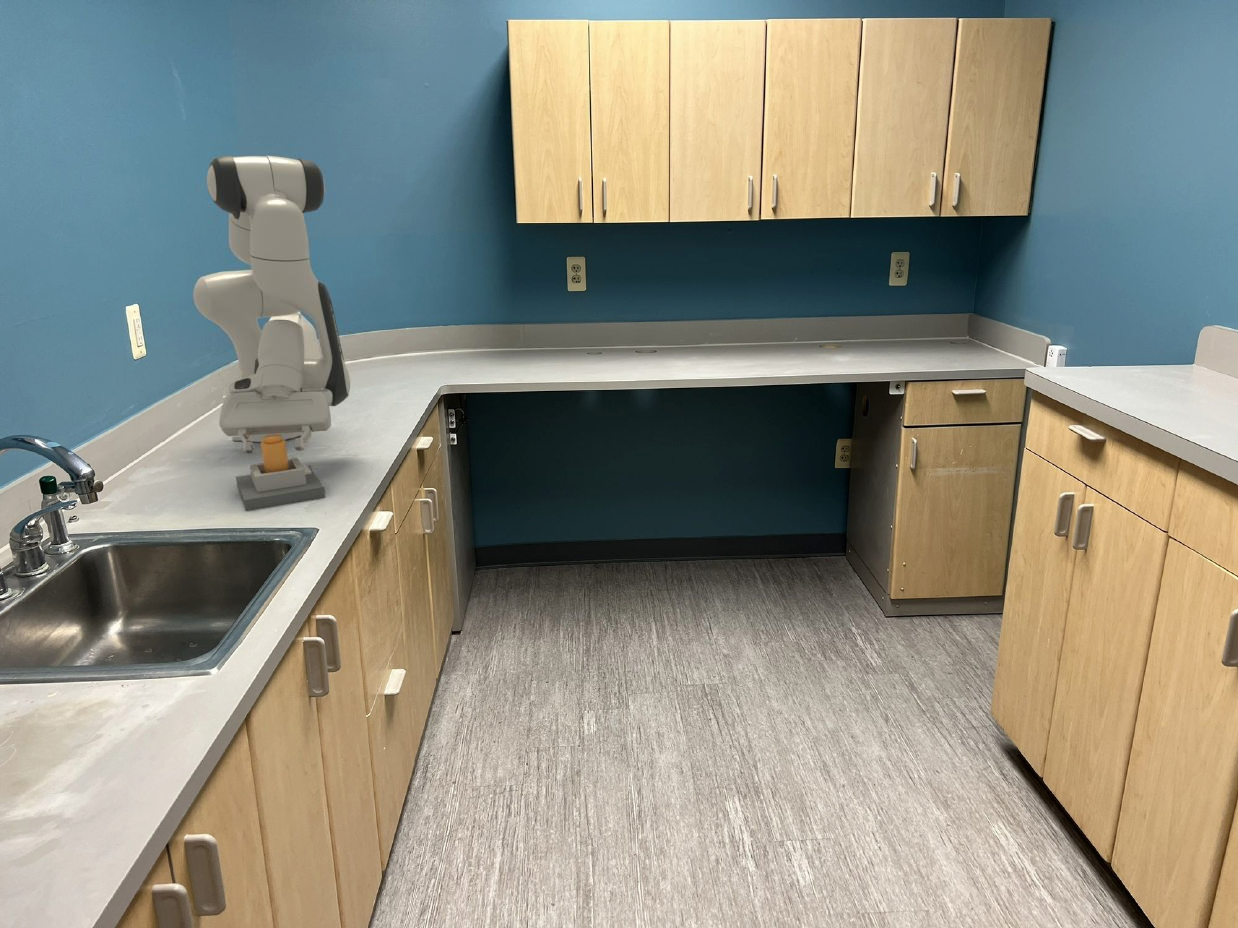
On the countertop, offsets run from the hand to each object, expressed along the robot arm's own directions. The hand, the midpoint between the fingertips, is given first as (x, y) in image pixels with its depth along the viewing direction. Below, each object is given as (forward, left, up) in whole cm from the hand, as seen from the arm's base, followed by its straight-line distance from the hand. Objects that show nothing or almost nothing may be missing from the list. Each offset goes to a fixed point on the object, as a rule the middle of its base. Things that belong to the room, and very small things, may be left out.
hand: (273, 450), depth 164 cm
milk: (-91, +17, -9) cm, 93 cm away
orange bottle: (0, 0, -6) cm, 6 cm away
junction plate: (0, 0, -8) cm, 8 cm away
